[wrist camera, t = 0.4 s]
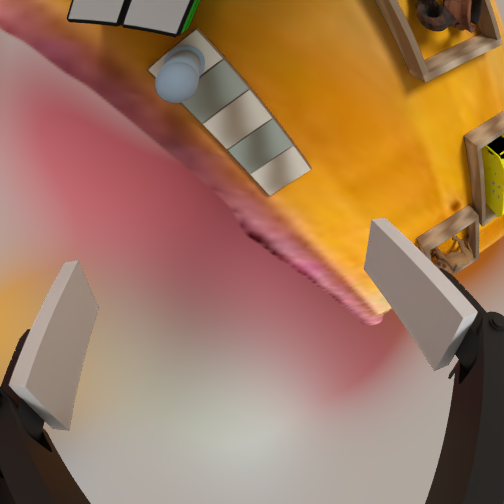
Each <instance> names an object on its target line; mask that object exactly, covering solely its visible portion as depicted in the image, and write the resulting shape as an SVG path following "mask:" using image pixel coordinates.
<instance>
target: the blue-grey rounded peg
mask: <svg viewBox="0 0 504 504" xmlns="http://www.w3.org/2000/svg"><path fill="white" fill-rule="evenodd" d="M204 67H205V59H204V56H203V54H202V52H201V51H200V50H199V49H197V48H196V47H193V46H190V45H183V46H179V47H176V48H175V49H173V50H172V51H171V52H170V53H169V54H168V55H167V57H166V58H165V61H164V66H163V67H162V69H161V70H160V71H159V73H158V74H157V76H156V79H155V89H156V92H157V94H158V95H159V96H160V97H161V98H162V99H163V100H165V101H167V102H170V103H181V102H184V101H186V100H188V99H189V98H191V97H192V96H193V95H194V93H195V92H196V90H197V88H198V84H199V76H200V75H201V74H202V72H203V70H204Z"/></svg>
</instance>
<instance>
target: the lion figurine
mask: <svg viewBox="0 0 504 504" xmlns="http://www.w3.org/2000/svg"><path fill="white" fill-rule="evenodd" d="M468 238H469V234H467V236H466V241H467V246H468V249H469V250H468V249H467V247H466V245H465V243H464V241H462V240H460V239H459V238H458V237H457V236H453V237H452V240H457V241H458V244H459V245H460V248H461V252H451V253H449V254H447V255H446V256H445V255H444V254H443V253H442V252H441V251H440V250H439V249H438V248H437V247H435V248H433V249H431V250H434V251H435V252H433V253H432V256H433V257H434V256H436V258H437V260H436V261H435V262H434V263H433V264H434V265H435V266H436V267H437V268H442V269H444V270H445V271H447V272H449V273H450V274H452V275H453V274H454V273H455V270H456V268H457V267H459V266H461V265H467V264H469V263H470V262H471V261H472V260H473V253H472V250H471V248H470V245H469V242H468Z"/></svg>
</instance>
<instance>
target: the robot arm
mask: <svg viewBox="0 0 504 504" xmlns="http://www.w3.org/2000/svg"><path fill="white" fill-rule="evenodd" d="M364 270H365V271H366V273H367V274H368V275H369V277H370V278H371V279H372V281H373V282H374V283H375V285H376V286H377V287H378V289H379V290H380V292H381V293H382V294H383V296H384V297H385V299H386V300H387V301H388V303H389V304H390V306H391V307H392V308H393V309H394V311H395V313H396V314H397V315H398V317H399V318H400V320H401V321H402V323H403V324H404V326H405V327H406V329H407V330H408V332H409V333H410V335H411V336H412V337H413V339H414V340H415V342H416V343H417V345H418V346H419V348H420V349H421V351H422V353H423V354H424V356H425V357H426V359H427V360H428V362H429V364H430V365H431V367H432V368H433V370H434V371H436V370H438V369H440V368H442V367H444V366H447V365H449V363H450V362H451V360H452V358H453V357H454V355H456V356H457V357H458V359H459V360H458V362H457V364H456V365H455V367H454V368H453V370H452V371H451V373H450V374H449V377H448V378H449V379H451V377H452V376H453V374H454V373H455V378H454V386H453V393H452V400H451V407H450V413H449V418H448V423H447V428H446V433H445V437H444V441H443V446H442V450H441V454H440V458H439V461H438V465H437V469H436V472H435V476H434V479H433V482H432V485H431V488H430V491H429V494H428V497H427V500H426V503H425V504H504V316H503V315H501V314H499V313H496V312H488V313H487V312H486V311H485V310H484V309H483V308H482V307H481V306H480V304H479V303H478V302H477V301H476V300H475V299H474V298H473V297H472V295H471V294H470V293H469V292H468V291H467V290H465V288H464V287H463V286H462V285H461V284H459V282H458V280H456V278H455V277H454V276H453V275H452V274H450V273H449V272H447V271H445V270H444V269H442V268H437V267H436V266H435V265H434V264H433V263H432V262H431V261H430V260H429V259H428V258H427V257H426V256H425V255H424V254H423V253H422V252H421V251H420V250H419V249H418V248H417V247H416V246H415V245H414V244H413V243H412V242H411V241H410V240H409V239H408V238H407V237H405V236H404V235H403V234H402V233H401V232H400V231H399V230H398V229H397V228H396V227H395V226H394V225H392V224H391V223H390V222H389V221H388V220H387V219H386V218H381V219H372V220H371V227H370V234H369V241H368V247H367V254H366V260H365V265H364ZM98 309H99V306H98V304H97V302H96V300H95V298H94V296H93V293H92V291H91V289H90V287H89V284H88V282H87V280H86V277H85V275H84V272H83V270H82V268H81V265H80V263H79V260H77V261H71V262H66V263H64V265H63V266H62V268H61V270H60V272H59V274H58V275H57V278H56V279H55V281H54V283H53V285H52V287H51V289H50V290H49V292H48V294H47V296H46V298H45V300H44V302H43V304H42V306H41V308H40V310H39V313H38V315H37V317H36V319H35V321H34V323H33V326H32V328H31V329H28V330H27V331H26V332H25V333H24V334H23V336H22V337H21V338H20V339H19V342H18V344H17V346H16V349H15V350H16V351H14V354H13V356H12V360H11V361H10V363H9V366H8V368H7V371H6V374H5V376H4V379H3V382H2V385H1V387H0V504H91V503H90V502H89V501H88V499H87V498H86V496H85V495H84V493H83V492H82V491H81V489H80V488H79V486H78V485H77V483H76V482H75V480H74V478H73V477H72V475H71V474H70V472H69V471H68V469H67V467H66V466H65V464H64V462H63V461H62V459H61V457H60V455H59V454H58V452H57V450H56V448H55V446H54V445H53V443H52V441H51V439H50V437H49V435H48V433H47V432H46V431H45V430H44V429H43V425H44V421H45V422H46V423H47V424H48V425H49V426H51V427H52V428H53V429H59V430H68V431H69V430H70V424H71V419H72V413H73V408H74V402H75V397H76V392H77V388H78V384H79V379H80V375H81V370H82V367H83V363H84V359H85V355H86V351H87V347H88V343H89V340H90V336H91V333H92V329H93V326H94V322H95V319H96V315H97V312H98Z"/></svg>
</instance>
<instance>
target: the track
mask: <svg viewBox="0 0 504 504" xmlns="http://www.w3.org/2000/svg"><path fill="white" fill-rule="evenodd" d="M183 45H190V46H193V47H196V48H197V49H199V50H200V51H201V52H202V54H203V56H204V59H205V67H204V70H203V72H202V74H201V75H200V76H199V84H198V88H197V90H196V92H195V93H194V95H193V96H192V97H191V98H189V99H188V100H186V101H184V102H181V104H182V105H183V106H184V107H185V108H186V109H187V110H188V111H189V112H190V113H191V114H192V115H193V116H194V117H195V118H196V119H197V120H198V121H199V122H200V123H201V124H202V125H203V126H204V127H205V128H206V129H207V130H208V132H209V133H210V134H211V135H212V136H213V137H214V138H215V139H216V140H217V141H218V142H219V143H220V144H221V145H222V146H223V147H224V148H225V149H226V150H227V151H228V152H229V153H230V155H231V156H232V157H233V158H234V159H235V160H236V161H237V162H238V163H239V164H240V165H241V166H242V167H243V168H244V170H245V171H246V172H247V173H248V174H249V175H250V176H251V177H252V178H253V179H254V180H255V181H256V183H257V184H258V185H259V186H260V187H261V188H262V189H263V190H264V191H265V192H266V194H267V195H268V196H270V195H272V194H273V193H275V192H277V191H278V190H280V189H281V188H283V187H284V186H286V185H287V184H289V183H291V182H292V181H294V180H295V179H297V178H299V177H300V176H302V175H303V174H305V173H306V172H308V171H310V170H311V169H312V168H311V166H310V164H309V163H308V161H307V160H306V159H305V157H304V156H303V154H302V153H301V152H300V150H299V149H298V148H297V146H296V145H295V143H294V142H293V141H292V139H291V138H290V137H289V135H288V134H287V133H286V131H285V130H284V129H283V127H282V126H281V125H280V123H279V122H278V121H277V119H276V118H275V117H274V116H273V114H272V113H271V112H270V110H269V109H268V108H267V107H266V105H265V104H264V103H263V102H262V100H261V99H260V98H259V97H258V95H257V94H256V93H255V92H254V91H253V89H252V88H251V87H250V86H249V85H248V83H247V82H246V81H245V80H244V79H243V77H242V76H241V75H240V74H239V73H238V71H237V70H236V69H235V68H234V67H233V66H232V65H231V63H230V62H229V61H228V60H227V59H226V58H225V57H224V55H223V54H222V53H221V52H220V51H219V50H218V49H217V48H216V47H215V46H214V44H213V43H212V42H211V41H210V40H209V39H208V38H207V37H206V36H205V35H204V34H203V33H202V32H201V31H200V29H199V28H196V29H195V30H194V31H192V32H191V33H190V34H188V35H187V36H186V37H185V38H183V39H182V40H181V41H180V42H178V43H177V44H176V45H175V46H173V47H172V48H171V49H170V50H169V51H167V52H166V53H165V54H164V55H163V56H162V57H161V58H159V59H158V60H157V61H156V62H155V63H154V64H153V65H152V66H150V67H149V68H148V69H147V71H148V72H149V73H150V74H151V75H152V76H153V77H154V78H155V79H156V76H157V74H158V73H159V71H160V70H161V69H162V67H163V66H164V61H165V58H166V57H167V55H168V54H169V53H170V52H171V51H172V50H173V49H175V48H176V47H179V46H183Z"/></svg>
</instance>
